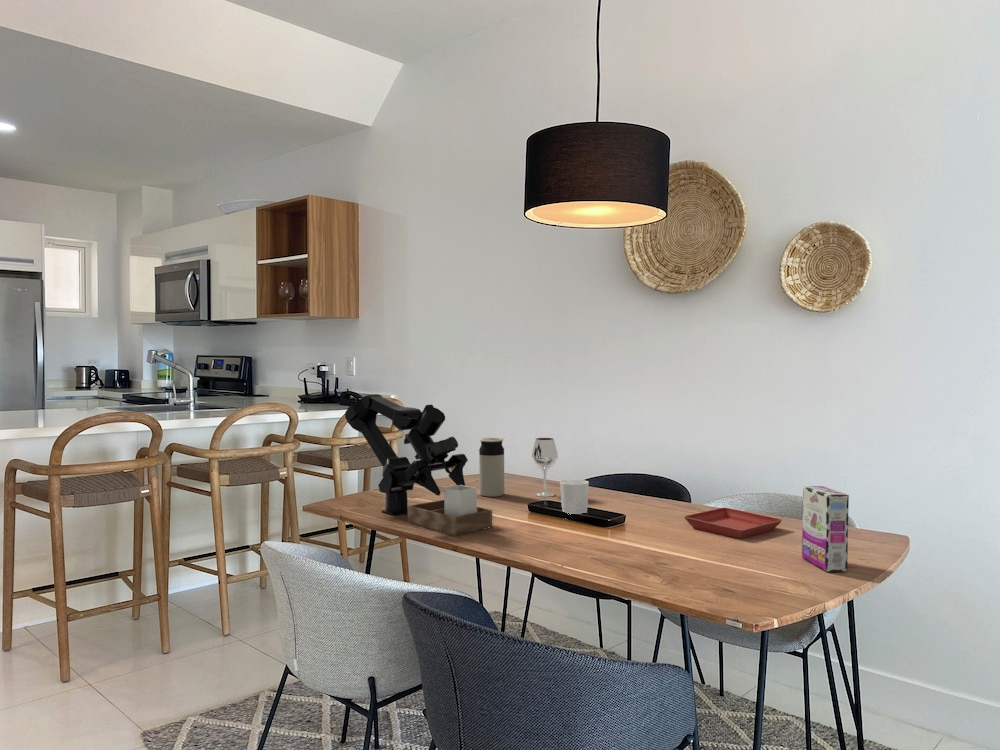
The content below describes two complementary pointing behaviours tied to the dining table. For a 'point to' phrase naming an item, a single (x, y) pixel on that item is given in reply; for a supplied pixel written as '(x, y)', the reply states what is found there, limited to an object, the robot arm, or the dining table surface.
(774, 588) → the dining table surface
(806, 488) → the candy bar box
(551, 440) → the wineglass
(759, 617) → the dining table surface
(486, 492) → the travel mug
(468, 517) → the crate
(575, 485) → the white cup
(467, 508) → the box
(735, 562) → the dining table surface
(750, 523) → the plant saucer
